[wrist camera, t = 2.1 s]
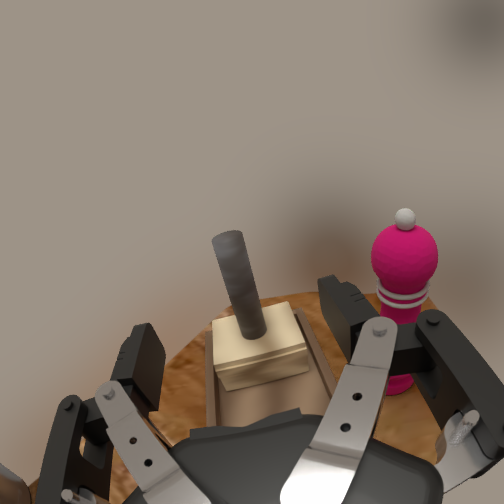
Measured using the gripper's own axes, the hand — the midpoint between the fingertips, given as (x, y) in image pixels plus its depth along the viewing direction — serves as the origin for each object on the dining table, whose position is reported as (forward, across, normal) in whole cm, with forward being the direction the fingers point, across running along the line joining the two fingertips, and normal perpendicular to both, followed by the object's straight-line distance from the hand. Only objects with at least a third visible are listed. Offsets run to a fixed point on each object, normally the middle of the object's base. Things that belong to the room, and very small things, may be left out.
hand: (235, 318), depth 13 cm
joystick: (+15, 0, +19) cm, 24 cm away
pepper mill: (+7, -14, +20) cm, 25 cm away
